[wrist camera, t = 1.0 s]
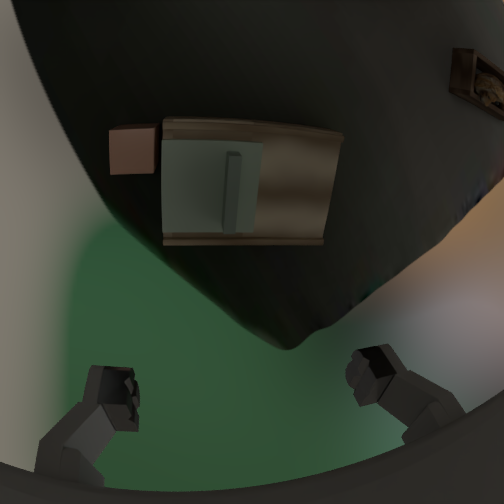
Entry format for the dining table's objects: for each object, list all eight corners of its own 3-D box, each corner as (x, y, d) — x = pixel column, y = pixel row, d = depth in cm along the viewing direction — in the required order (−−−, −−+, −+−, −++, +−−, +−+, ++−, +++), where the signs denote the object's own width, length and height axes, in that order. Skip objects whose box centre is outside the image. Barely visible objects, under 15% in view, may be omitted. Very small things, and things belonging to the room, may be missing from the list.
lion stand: (452, 48, 29) (473, 49, 25) (503, 82, 32) (521, 86, 28) (448, 91, 32) (469, 95, 28) (498, 119, 35) (516, 125, 32)
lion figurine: (450, 98, 33) (494, 108, 25) (450, 65, 30) (495, 71, 22) (498, 110, 35) (536, 123, 27) (499, 83, 32) (537, 93, 24)
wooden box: (166, 116, 30) (162, 119, 26) (329, 128, 33) (344, 134, 30) (165, 231, 36) (163, 247, 33) (311, 232, 40) (322, 246, 37)
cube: (120, 124, 29) (109, 130, 25) (159, 123, 30) (154, 128, 26) (121, 162, 31) (110, 174, 27) (158, 161, 32) (153, 173, 28)
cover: (162, 138, 27) (159, 144, 25) (261, 142, 29) (268, 147, 27) (163, 229, 32) (160, 243, 30) (252, 229, 34) (257, 242, 32)
